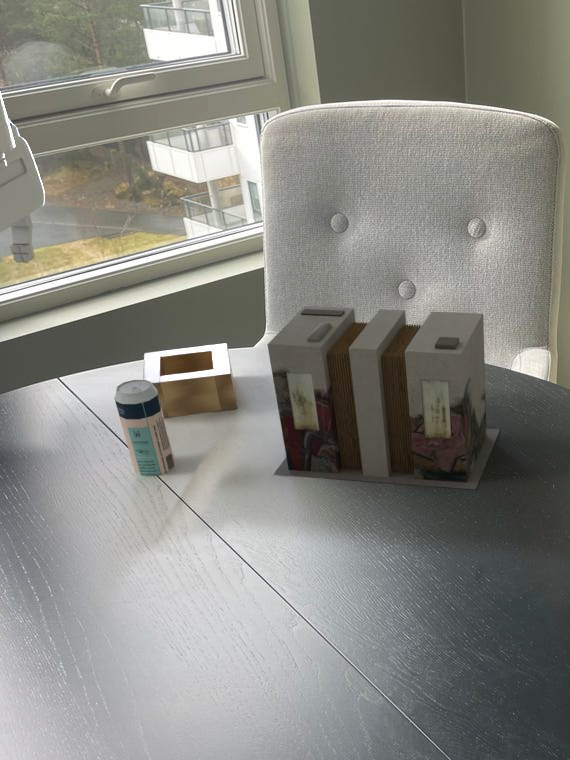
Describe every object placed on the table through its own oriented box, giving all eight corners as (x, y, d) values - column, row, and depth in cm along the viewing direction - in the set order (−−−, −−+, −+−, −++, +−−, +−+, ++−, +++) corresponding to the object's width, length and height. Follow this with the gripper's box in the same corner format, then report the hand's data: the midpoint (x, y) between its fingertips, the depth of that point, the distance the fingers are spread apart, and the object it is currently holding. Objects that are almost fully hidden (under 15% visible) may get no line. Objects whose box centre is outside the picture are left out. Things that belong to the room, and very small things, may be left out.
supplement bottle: (172, 467, 119) (149, 374, 112) (184, 483, 116) (161, 388, 108) (133, 478, 117) (107, 384, 110) (144, 494, 114) (118, 398, 107)
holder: (151, 419, 130) (142, 384, 127) (152, 386, 139) (144, 352, 136) (237, 408, 132) (230, 373, 129) (233, 376, 141) (226, 343, 138)
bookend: (475, 489, 113) (470, 354, 103) (272, 474, 117) (249, 343, 107) (500, 429, 125) (497, 303, 115) (315, 417, 129) (298, 295, 119)
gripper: (-19, 111, 104) (20, 245, 113) (-125, 154, 88) (-71, 306, 97) (38, 112, 104) (73, 246, 112) (-58, 155, 88) (-10, 307, 96)
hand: (6, 274), depth 104 cm, fingers open, 8 cm apart
